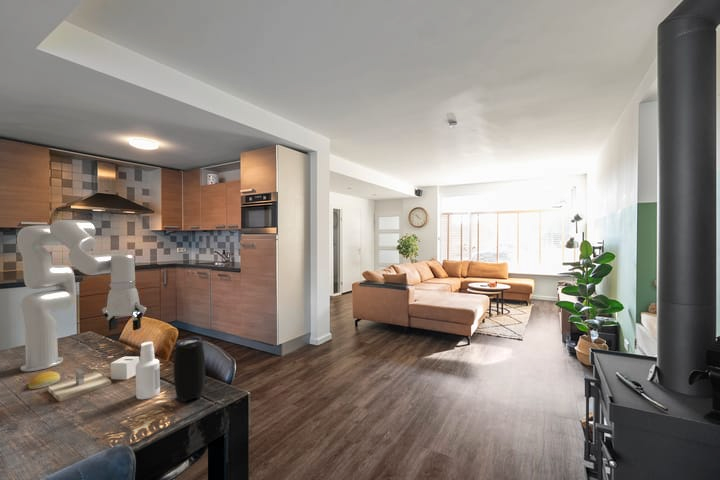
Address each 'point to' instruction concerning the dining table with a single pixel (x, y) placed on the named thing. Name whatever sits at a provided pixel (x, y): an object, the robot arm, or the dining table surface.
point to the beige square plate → (78, 385)
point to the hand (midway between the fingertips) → (125, 329)
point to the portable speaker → (189, 369)
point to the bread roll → (44, 380)
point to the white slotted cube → (124, 368)
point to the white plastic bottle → (147, 373)
